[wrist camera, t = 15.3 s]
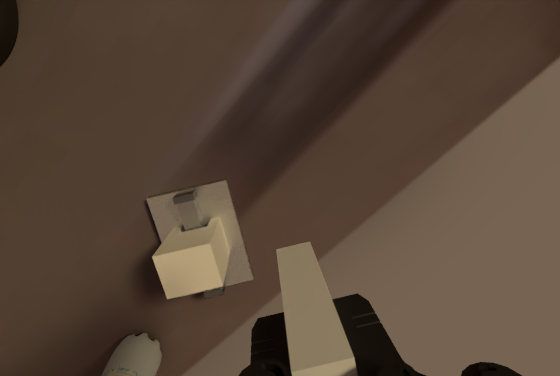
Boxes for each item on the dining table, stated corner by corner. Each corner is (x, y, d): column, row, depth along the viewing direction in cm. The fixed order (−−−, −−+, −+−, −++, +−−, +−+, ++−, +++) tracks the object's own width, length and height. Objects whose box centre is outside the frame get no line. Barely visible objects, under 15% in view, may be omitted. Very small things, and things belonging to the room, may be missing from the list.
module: (185, 264, 40) (167, 300, 33) (173, 227, 39) (151, 256, 31) (230, 253, 40) (223, 287, 33) (219, 217, 39) (210, 243, 31)
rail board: (182, 291, 43) (176, 307, 39) (149, 196, 39) (139, 204, 36) (253, 275, 43) (253, 288, 39) (227, 178, 39) (224, 184, 36)
